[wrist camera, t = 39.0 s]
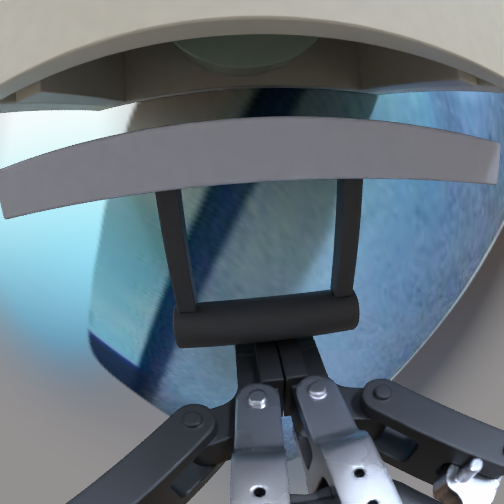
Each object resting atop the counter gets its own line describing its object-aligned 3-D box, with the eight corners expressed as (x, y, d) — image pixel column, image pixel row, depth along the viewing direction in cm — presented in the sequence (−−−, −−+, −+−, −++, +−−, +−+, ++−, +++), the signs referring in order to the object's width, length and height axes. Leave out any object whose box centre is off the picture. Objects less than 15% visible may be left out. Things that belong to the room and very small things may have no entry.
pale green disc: (309, -37, 7) (320, -56, 5) (321, 77, 10) (337, 70, 8) (166, -34, 7) (158, -53, 5) (166, 84, 9) (156, 77, 8)
